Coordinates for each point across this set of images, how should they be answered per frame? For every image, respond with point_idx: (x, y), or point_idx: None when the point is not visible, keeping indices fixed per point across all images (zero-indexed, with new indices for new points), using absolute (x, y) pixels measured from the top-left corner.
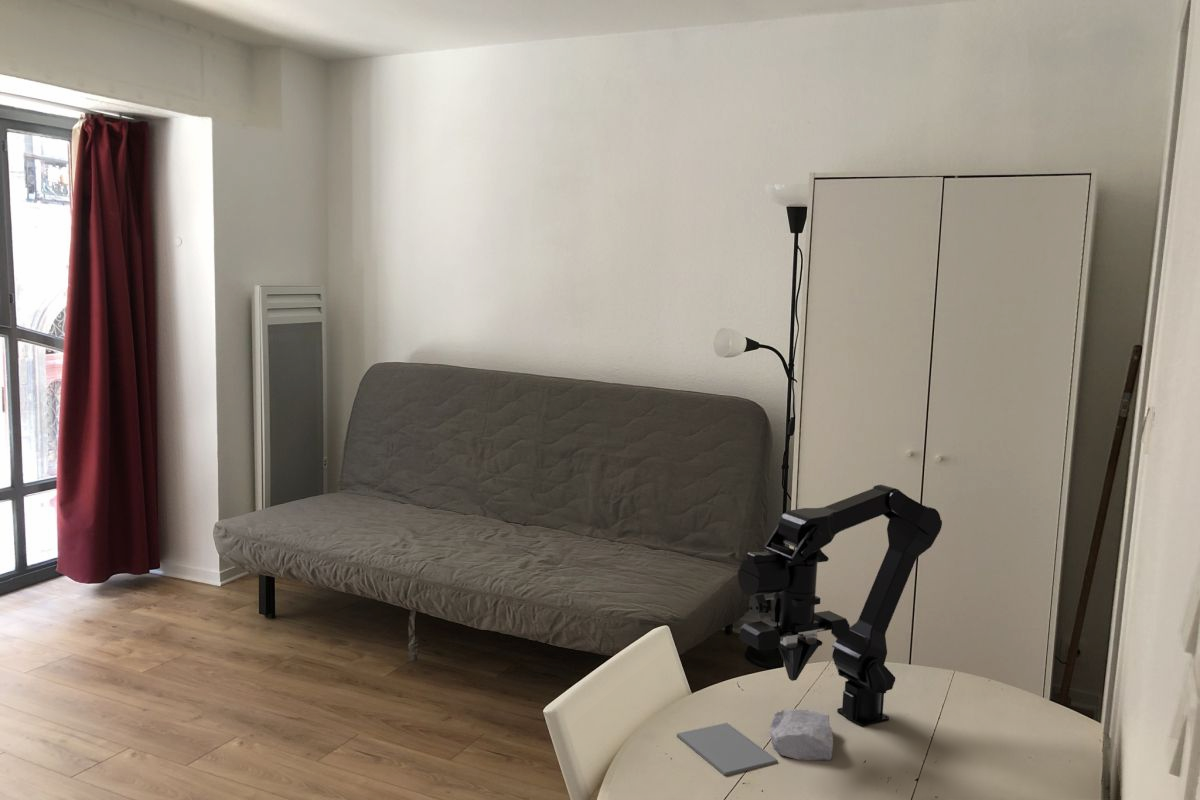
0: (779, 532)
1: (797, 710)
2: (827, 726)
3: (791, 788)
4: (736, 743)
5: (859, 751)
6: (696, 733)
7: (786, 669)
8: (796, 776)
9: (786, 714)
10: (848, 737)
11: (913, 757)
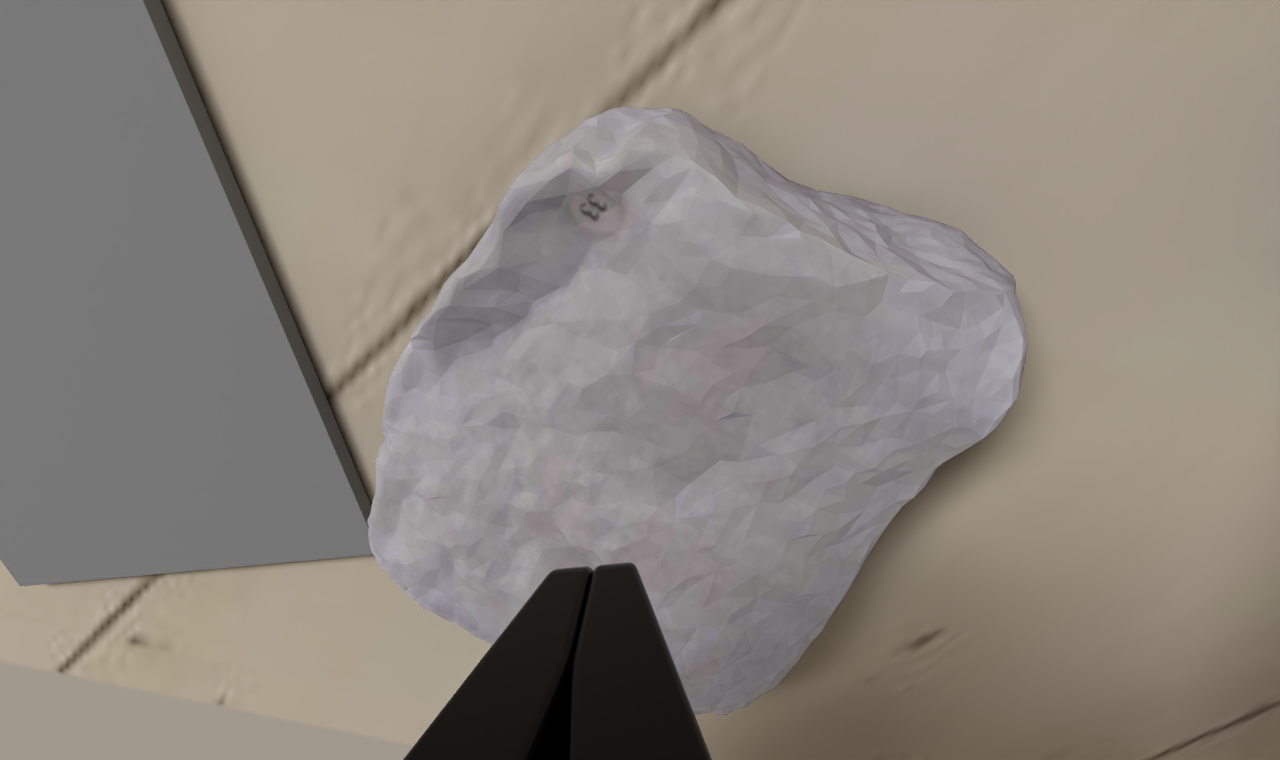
0: None
1: (747, 281)
2: (821, 591)
3: (371, 725)
4: (142, 311)
5: (986, 555)
6: None
7: (467, 692)
8: (441, 660)
9: (623, 257)
10: (1078, 390)
11: (1240, 676)
